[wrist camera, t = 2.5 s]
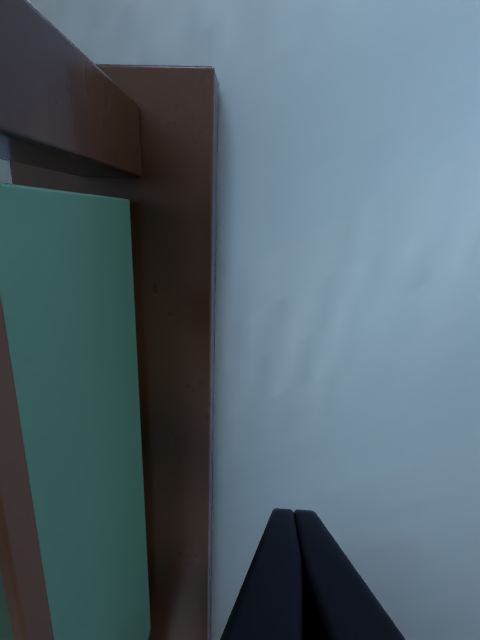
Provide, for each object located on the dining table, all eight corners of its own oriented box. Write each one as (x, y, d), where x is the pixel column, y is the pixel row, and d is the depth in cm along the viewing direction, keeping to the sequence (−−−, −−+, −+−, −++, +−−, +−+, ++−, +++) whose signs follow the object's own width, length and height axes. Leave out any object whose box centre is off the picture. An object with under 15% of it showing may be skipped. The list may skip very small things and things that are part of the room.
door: (154, 644, 13) (81, 945, 7) (70, 637, 13) (-60, 928, 7) (133, 199, 8) (-62, 173, 3) (10, 195, 9) (-369, 163, 3)
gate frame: (210, 653, 15) (169, 1028, 8) (89, 643, 15) (-53, 1000, 8) (219, 81, 9) (98, -330, 2) (22, 77, 9) (-639, -313, 2)
